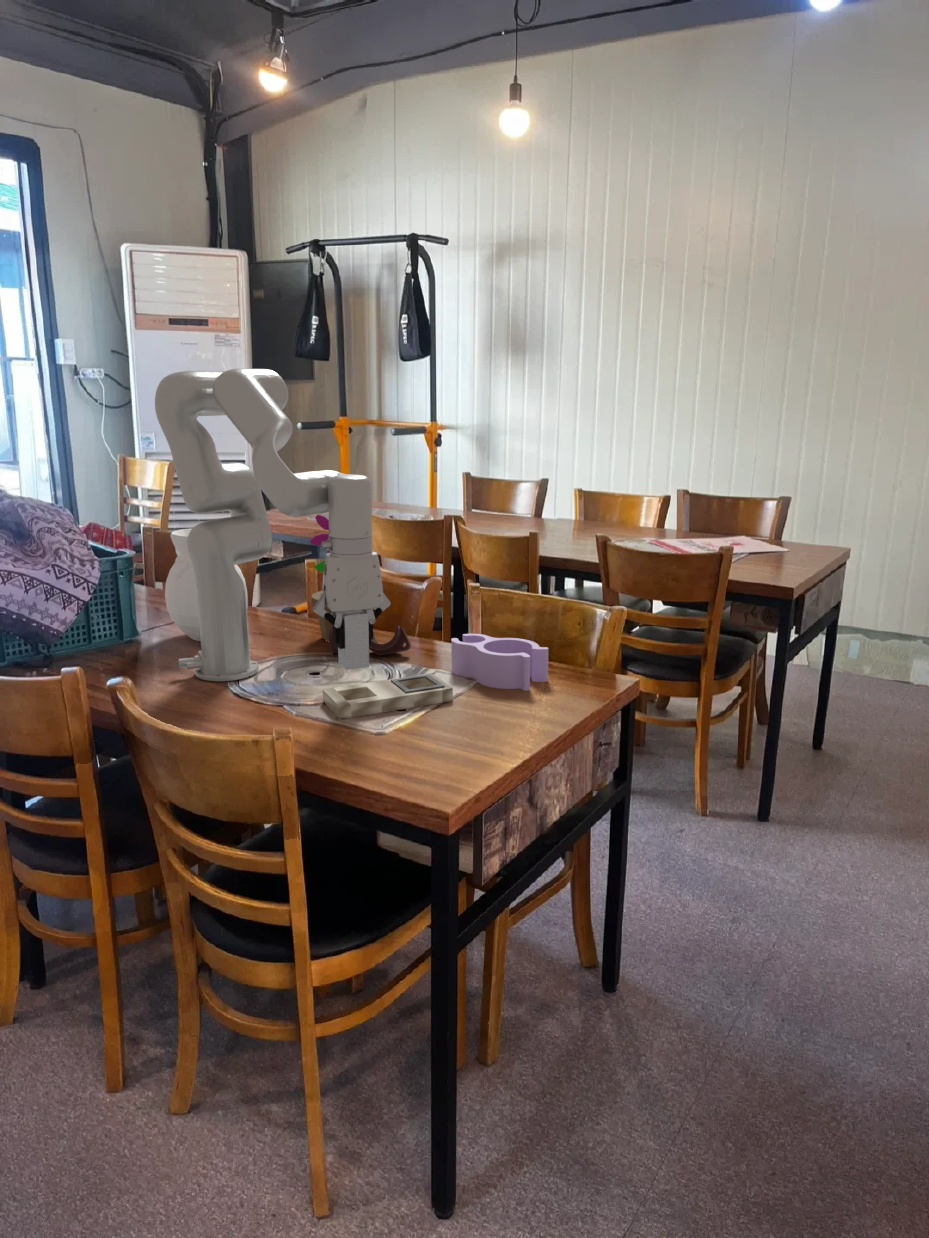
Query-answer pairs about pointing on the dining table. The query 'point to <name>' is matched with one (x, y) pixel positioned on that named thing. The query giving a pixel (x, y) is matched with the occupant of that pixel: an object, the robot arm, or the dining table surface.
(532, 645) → the clip
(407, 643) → the bracket
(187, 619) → the pitcher
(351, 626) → the peg
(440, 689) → the pegboard
